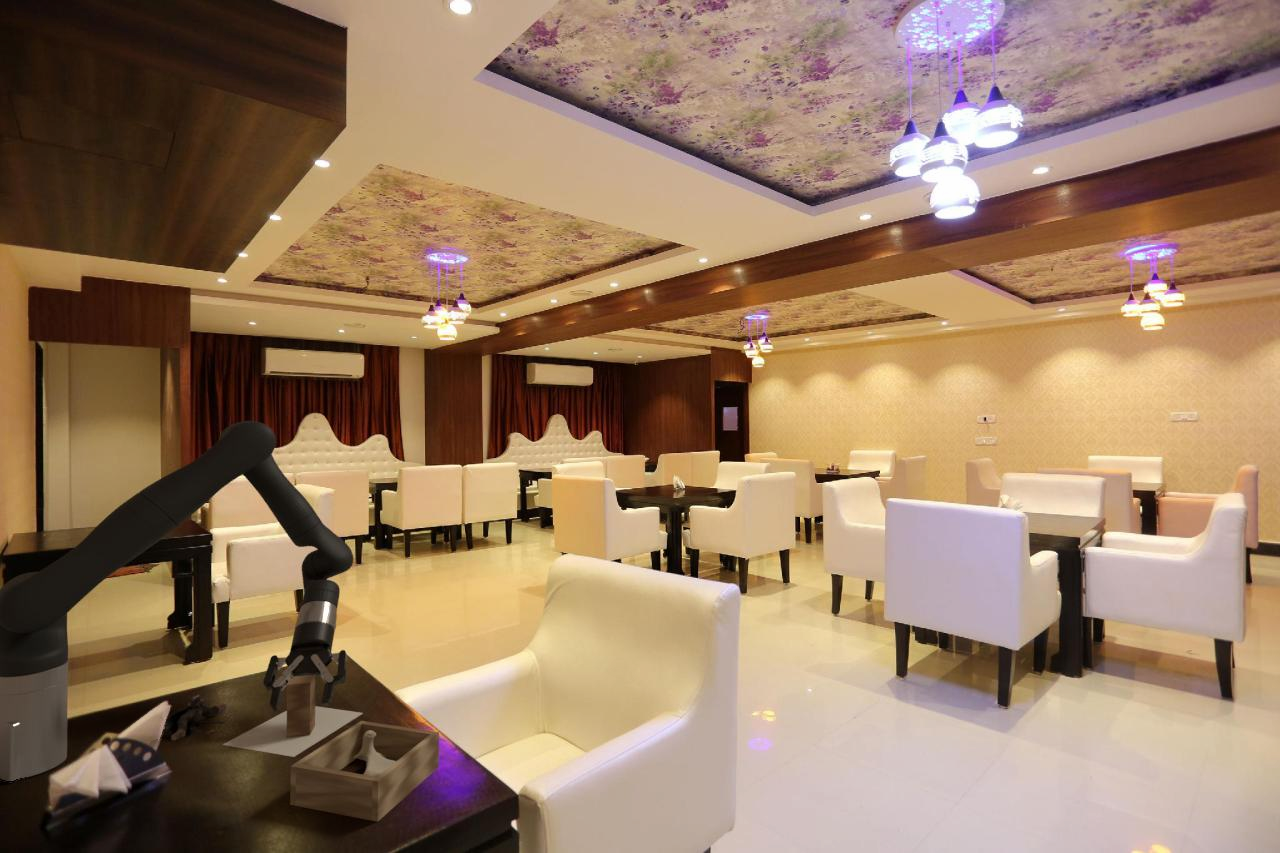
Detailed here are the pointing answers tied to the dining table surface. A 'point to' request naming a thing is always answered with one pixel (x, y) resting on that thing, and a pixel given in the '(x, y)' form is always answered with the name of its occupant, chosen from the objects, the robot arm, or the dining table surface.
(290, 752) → the mat
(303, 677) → the walnut block
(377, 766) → the bone
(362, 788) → the bone crate
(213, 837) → the dining table surface
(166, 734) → the dark grey knobby piece
